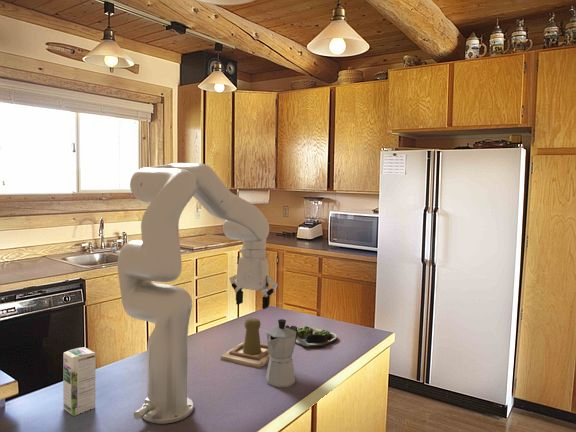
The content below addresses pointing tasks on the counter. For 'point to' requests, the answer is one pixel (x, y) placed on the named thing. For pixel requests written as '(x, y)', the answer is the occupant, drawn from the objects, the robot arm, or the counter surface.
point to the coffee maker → (281, 355)
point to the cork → (252, 337)
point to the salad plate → (314, 337)
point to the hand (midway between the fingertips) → (252, 305)
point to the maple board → (247, 356)
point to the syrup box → (78, 380)
